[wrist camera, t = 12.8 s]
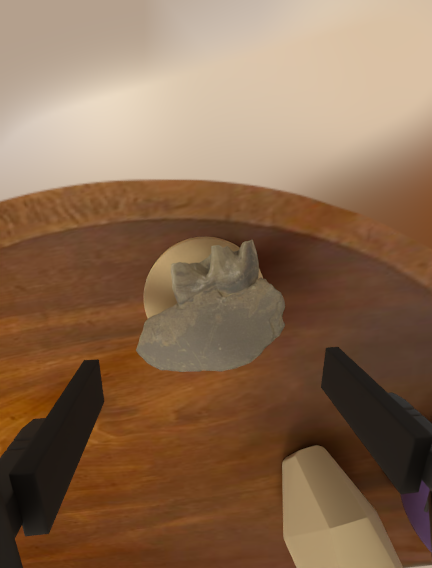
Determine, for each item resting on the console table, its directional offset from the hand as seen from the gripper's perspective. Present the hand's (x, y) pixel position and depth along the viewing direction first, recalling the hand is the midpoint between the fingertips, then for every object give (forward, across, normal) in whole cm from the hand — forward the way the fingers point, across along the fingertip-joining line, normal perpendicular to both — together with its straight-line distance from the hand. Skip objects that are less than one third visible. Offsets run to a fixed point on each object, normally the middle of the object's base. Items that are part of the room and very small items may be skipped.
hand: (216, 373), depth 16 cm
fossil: (+14, 0, 0) cm, 14 cm away
